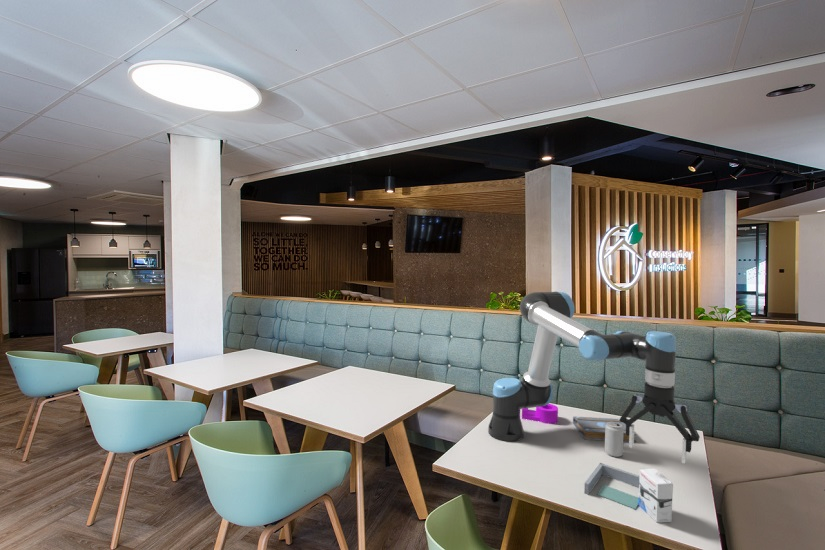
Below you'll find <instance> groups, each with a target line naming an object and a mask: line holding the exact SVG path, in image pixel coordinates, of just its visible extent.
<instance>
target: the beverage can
mask: <svg viewBox="0 0 825 550" xmlns="http://www.w3.org/2000/svg"><path fill="white" fill-rule="evenodd" d="M623 432H624V429H623V425H622V424H620V423H618V422H613V421H609V422H607V424H606V425H605V441H604V452H605V453H606V455H608V456H611V457H614V458H620V457H622V456H623V455H624V453H623V452H624V442H623Z"/></svg>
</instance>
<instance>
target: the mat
mask: <svg viewBox="0 0 825 550" xmlns="http://www.w3.org/2000/svg"><path fill="white" fill-rule="evenodd" d="M597 496H599V497H602V498H604V499H607V500H609V501H613V502H614V503H615V502H616V503H618V504H620V505H623V506H624V507H625V506H626V507H627V508H630V509H633V510H636V509H637V508H638V506H639V505H638V500H639V496H636V495H632V494H629V493H627V492H624V491H622V490H619V489H616V488H614V487H611V486H609V485H606V484H603V485H602V486H601V488H600V490H599V491H598V493H597Z"/></svg>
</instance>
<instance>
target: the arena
mask: <svg viewBox="0 0 825 550" xmlns="http://www.w3.org/2000/svg"><path fill="white" fill-rule="evenodd" d="M602 476H604V477H608V478H610V479H613V480H616V481H619V482H622V483H624V484H626V485H630V486H632V487H635V488H638V489H639V478H640V475H638V474H635V473H632V472H629V471H626V470H622V469H619V468H617V467H614V466H610V465H608V464H605V463H601V462H600V463H599V464H598V465H597V466H596V467H595V469H594V470H593V471H592V473H591V474H590V475H589V476H588V478H587V479H586V480H585V482H584V487H583V488H584V492H583V493H584V494H585V495H589V494H590V493H591V491H593V489H594V488H595V486H596V484H597V483H598V482H599V480H600V479H601V478H602Z"/></svg>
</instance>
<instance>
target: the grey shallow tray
mask: <svg viewBox="0 0 825 550" xmlns="http://www.w3.org/2000/svg"><path fill="white" fill-rule="evenodd" d="M609 421H613V422H618V423H620V424H622V425H623V429H624V432H623V443H624V442H625V443H629V436H628V435H626V424H625V423H623V422H620V418H612V417H611V418H610V417H609V418H607V417H593V416H592V417H591V416H590V417H589V416H588V417H587V416H573V417H572V424H573V426H574V427H575V429H576V430H577V432H578V433H579V434H580V435H581V437H582V438H583V440H587V441H588V440H590V441H604V442H605V425H606V424H607V422H609ZM634 436H637V433H636V432H635V431H634ZM634 443H637V440H636V439H635V438H634Z"/></svg>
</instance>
